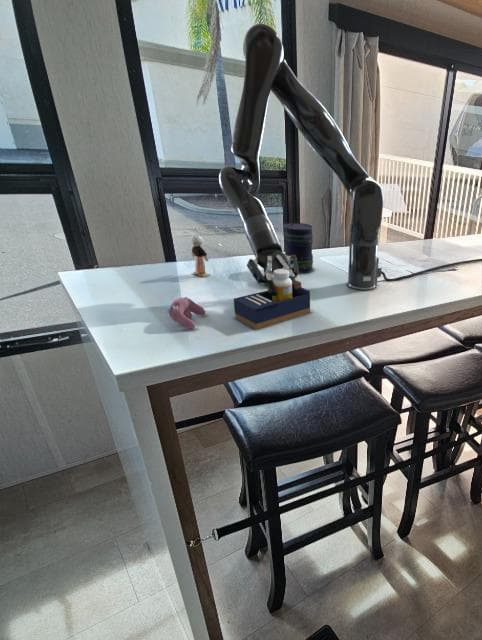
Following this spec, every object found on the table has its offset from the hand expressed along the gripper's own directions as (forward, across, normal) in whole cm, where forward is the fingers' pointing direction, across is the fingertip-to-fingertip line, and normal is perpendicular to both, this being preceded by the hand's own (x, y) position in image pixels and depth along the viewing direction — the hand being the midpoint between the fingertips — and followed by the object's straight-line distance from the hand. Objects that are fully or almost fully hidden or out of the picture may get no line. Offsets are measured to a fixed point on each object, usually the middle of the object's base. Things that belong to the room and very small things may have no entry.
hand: (285, 293), depth 113 cm
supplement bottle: (+2, 0, +4) cm, 5 cm away
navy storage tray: (+4, -3, +5) cm, 7 cm away
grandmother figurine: (-24, -8, +33) cm, 42 cm away
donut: (-13, +9, +22) cm, 27 cm away
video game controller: (0, -24, +10) cm, 25 cm away
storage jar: (-19, +24, +29) cm, 42 cm away
